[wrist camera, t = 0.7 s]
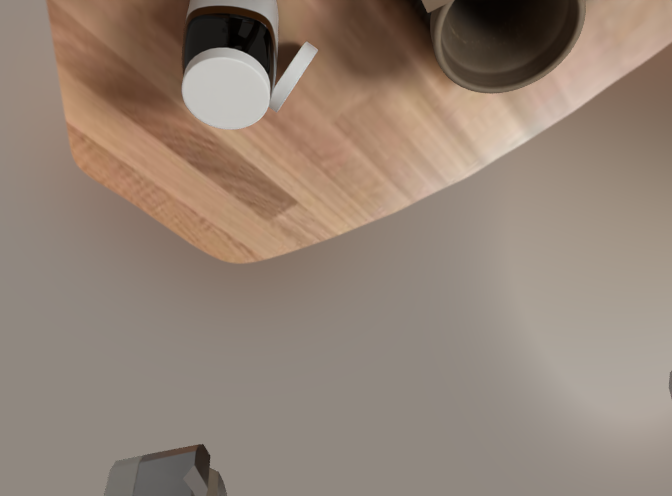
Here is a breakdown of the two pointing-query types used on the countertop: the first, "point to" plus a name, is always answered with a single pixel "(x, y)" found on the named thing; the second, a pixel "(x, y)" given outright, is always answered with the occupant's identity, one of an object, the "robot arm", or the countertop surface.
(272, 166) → the countertop surface
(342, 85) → the countertop surface
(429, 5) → the walnut shelf
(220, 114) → the spread jar
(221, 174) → the countertop surface
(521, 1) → the flower pot
